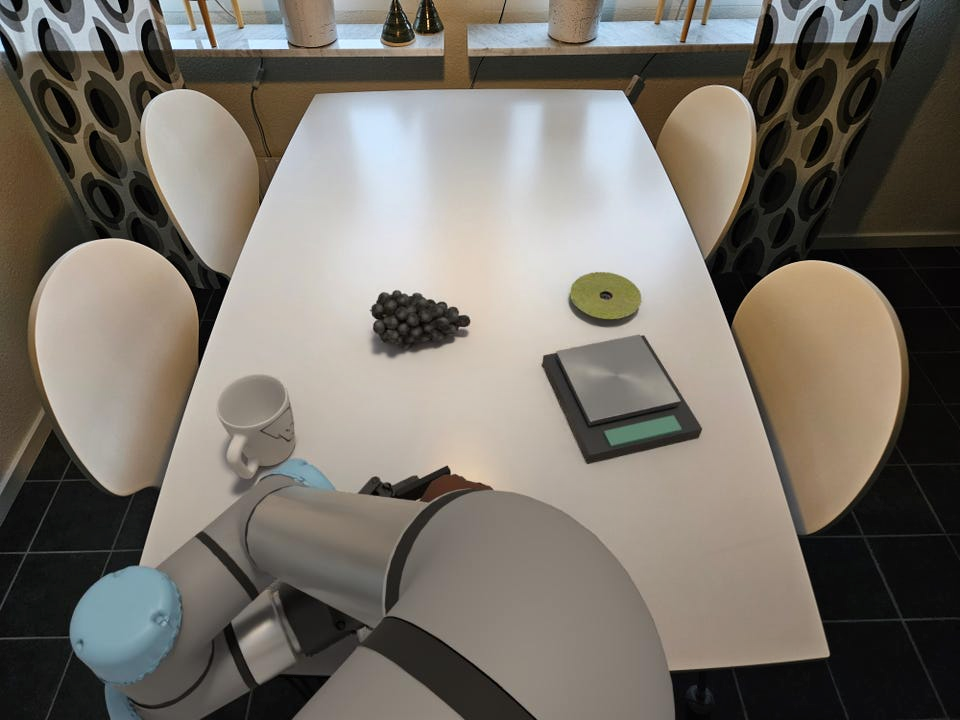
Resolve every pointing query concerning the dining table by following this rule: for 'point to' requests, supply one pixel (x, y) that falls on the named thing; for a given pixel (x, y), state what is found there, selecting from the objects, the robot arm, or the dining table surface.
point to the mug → (256, 422)
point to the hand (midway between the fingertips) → (480, 520)
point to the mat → (605, 295)
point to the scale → (622, 421)
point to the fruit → (414, 319)
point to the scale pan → (616, 379)
